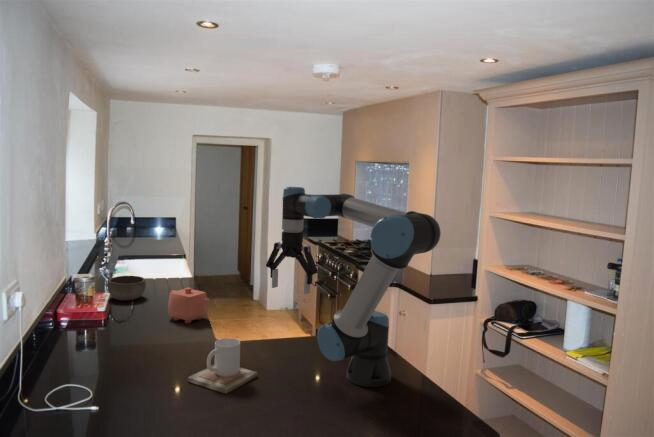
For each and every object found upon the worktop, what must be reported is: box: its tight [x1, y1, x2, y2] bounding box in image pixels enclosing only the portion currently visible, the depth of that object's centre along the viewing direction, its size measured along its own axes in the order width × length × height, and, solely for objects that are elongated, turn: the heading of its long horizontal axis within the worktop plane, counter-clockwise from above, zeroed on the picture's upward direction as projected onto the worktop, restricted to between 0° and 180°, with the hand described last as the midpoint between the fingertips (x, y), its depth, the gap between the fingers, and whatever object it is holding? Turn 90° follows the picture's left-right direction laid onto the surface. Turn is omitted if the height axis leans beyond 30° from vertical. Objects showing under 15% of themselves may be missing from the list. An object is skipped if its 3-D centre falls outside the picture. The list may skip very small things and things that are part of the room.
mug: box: [206, 337, 241, 377], centre depth 174 cm, size 12×8×10 cm
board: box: [187, 364, 258, 394], centre depth 174 cm, size 16×16×2 cm
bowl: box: [107, 275, 147, 302], centre depth 264 cm, size 17×18×10 cm
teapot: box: [167, 287, 210, 324], centre depth 235 cm, size 22×13×14 cm, turn 61°
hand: (290, 290), depth 188 cm, fingers open, 13 cm apart
